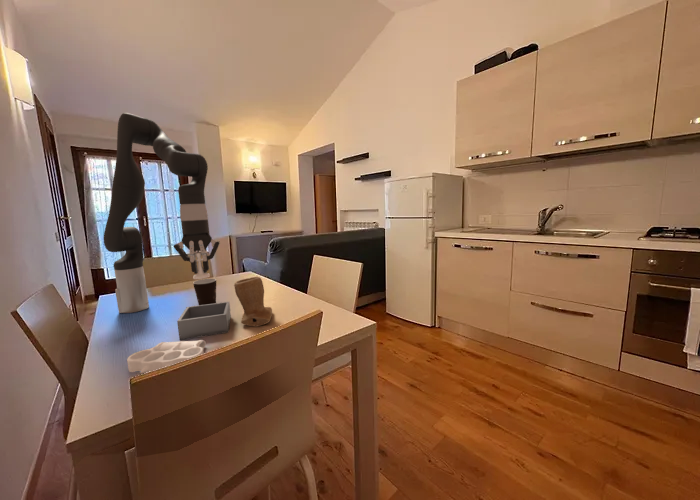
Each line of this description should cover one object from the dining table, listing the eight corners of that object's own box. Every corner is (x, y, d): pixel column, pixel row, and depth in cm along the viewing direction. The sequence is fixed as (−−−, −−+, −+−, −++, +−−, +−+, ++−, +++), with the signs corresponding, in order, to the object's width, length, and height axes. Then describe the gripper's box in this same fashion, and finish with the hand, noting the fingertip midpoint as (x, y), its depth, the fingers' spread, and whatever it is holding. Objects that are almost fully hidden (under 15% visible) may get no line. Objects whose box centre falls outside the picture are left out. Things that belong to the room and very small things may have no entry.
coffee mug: (212, 308, 116) (210, 283, 115) (191, 308, 117) (188, 284, 115) (225, 298, 128) (223, 276, 126) (206, 299, 128) (203, 277, 127)
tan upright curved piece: (241, 313, 109) (237, 274, 106) (274, 310, 111) (270, 272, 108) (232, 330, 94) (227, 285, 92) (270, 326, 96) (266, 282, 94)
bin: (179, 340, 88) (177, 321, 87) (188, 323, 101) (186, 306, 100) (227, 332, 92) (226, 314, 92) (230, 317, 105) (229, 301, 104)
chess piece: (213, 275, 95) (209, 245, 94) (200, 279, 91) (195, 248, 89) (203, 275, 97) (199, 245, 96) (189, 278, 93) (185, 247, 91)
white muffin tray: (217, 347, 84) (192, 376, 69) (153, 350, 83) (114, 381, 69) (216, 336, 83) (190, 363, 69) (151, 339, 83) (112, 368, 68)
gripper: (219, 217, 97) (225, 268, 100) (172, 219, 93) (179, 272, 95) (217, 218, 90) (222, 273, 93) (166, 220, 86) (173, 277, 88)
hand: (200, 272), depth 94 cm, fingers closed on chess piece
